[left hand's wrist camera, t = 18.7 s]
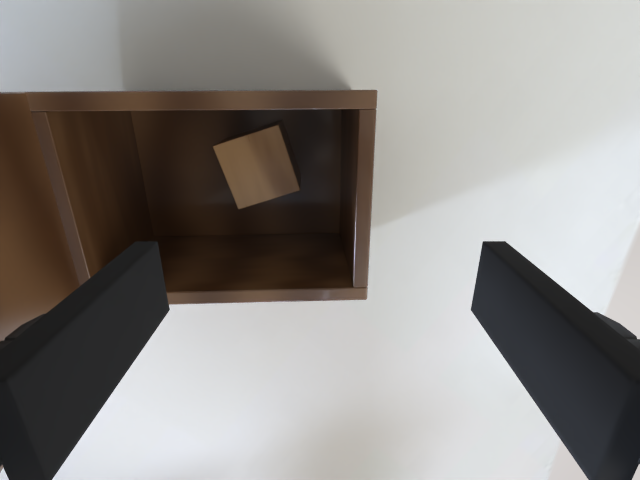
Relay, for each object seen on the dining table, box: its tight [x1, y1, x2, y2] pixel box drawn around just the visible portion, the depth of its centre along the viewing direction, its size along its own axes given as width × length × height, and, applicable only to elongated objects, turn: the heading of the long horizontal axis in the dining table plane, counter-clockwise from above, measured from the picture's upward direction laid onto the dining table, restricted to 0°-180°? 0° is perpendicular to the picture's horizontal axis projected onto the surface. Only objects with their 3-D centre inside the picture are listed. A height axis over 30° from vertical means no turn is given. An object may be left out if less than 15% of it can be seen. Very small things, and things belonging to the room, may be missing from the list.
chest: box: [25, 90, 377, 304], centre depth 24 cm, size 17×12×10 cm
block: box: [213, 120, 301, 209], centre depth 26 cm, size 4×4×4 cm
